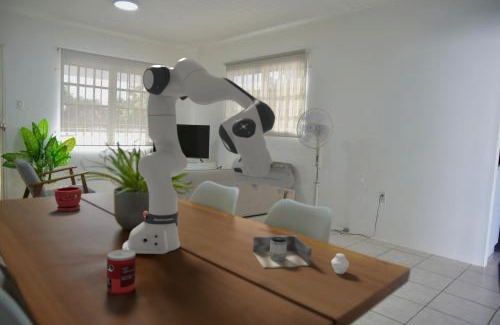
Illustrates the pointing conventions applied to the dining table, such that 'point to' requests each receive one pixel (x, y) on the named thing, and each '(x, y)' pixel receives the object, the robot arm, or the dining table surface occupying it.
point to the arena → (295, 252)
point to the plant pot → (68, 198)
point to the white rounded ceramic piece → (340, 263)
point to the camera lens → (278, 249)
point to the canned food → (121, 271)
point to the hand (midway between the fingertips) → (268, 189)
